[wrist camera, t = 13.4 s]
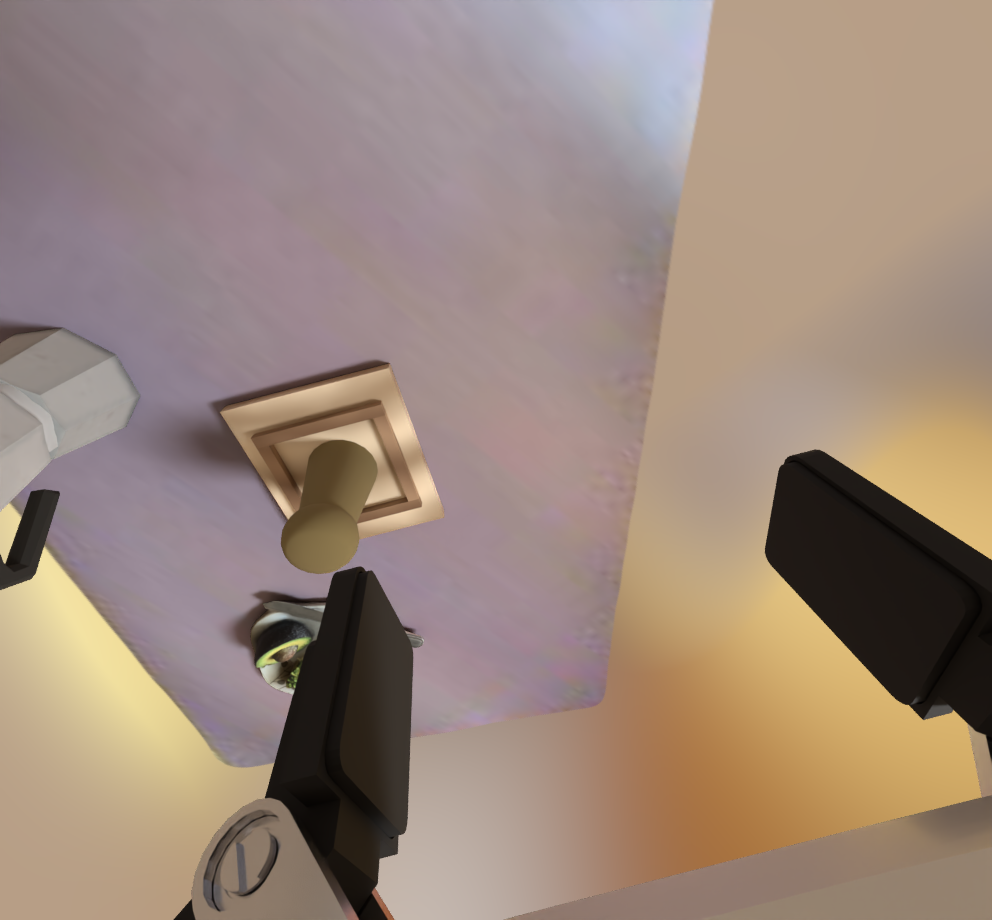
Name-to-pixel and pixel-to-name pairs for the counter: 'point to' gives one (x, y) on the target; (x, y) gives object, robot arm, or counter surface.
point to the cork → (330, 507)
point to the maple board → (341, 416)
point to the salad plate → (289, 640)
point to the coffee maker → (51, 423)
